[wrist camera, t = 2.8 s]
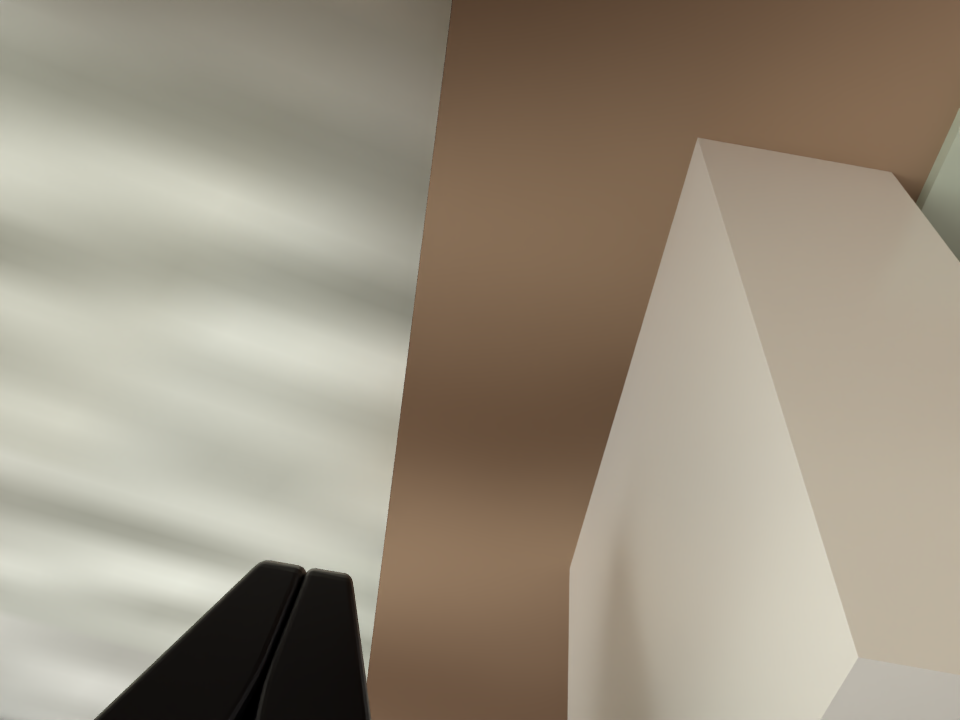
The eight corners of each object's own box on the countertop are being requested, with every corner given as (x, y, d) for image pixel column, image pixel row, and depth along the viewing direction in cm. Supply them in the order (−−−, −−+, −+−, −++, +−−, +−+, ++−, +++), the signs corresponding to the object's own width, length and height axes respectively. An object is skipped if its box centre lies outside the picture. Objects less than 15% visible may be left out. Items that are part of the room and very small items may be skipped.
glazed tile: (719, 594, 14) (817, 1189, 8) (569, 568, 14) (561, 1146, 8) (905, 175, 10) (1351, 743, 4) (697, 137, 10) (857, 656, 4)
